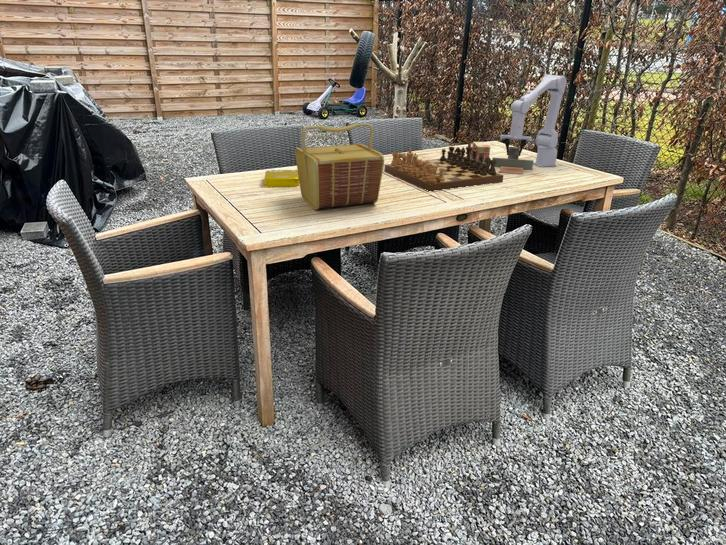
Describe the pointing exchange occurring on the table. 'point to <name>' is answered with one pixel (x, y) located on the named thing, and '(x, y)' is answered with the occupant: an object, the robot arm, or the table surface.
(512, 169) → the tile
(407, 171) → the chess set
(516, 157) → the letter cube
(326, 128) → the picnic basket
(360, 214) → the table surface
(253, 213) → the table surface
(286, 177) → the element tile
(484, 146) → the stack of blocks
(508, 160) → the screen
